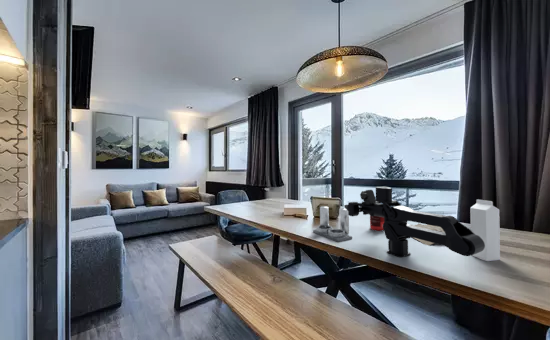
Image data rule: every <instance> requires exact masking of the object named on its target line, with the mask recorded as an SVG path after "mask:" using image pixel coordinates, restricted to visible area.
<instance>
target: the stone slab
mask: <svg viewBox="0 0 550 340" xmlns="http://www.w3.org/2000/svg"><path fill="white" fill-rule="evenodd" d="M411 225H412V226H416V227H421V228H426V229H430V230H435V231H440V232H444V230H443V229H442V228H441V227H437V226H432V225H427V224H422V223H418V224H414V225H413V224H411ZM444 233H445V232H444ZM411 238H412V239H415V240H417V241H419V243H421V244H423V245H425V246H431V245H433V244H435V243H432V242H428V241H425V240H421V239H417V238H413V237H411Z"/></svg>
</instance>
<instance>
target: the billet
mask: <svg viewBox="0 0 550 340" xmlns="http://www.w3.org/2000/svg"><path fill="white" fill-rule="evenodd" d="M338 211H339V229H341V230H344V231H345V234H346V235H349V234H350V218H349V217H350V216H349V215H348V210H347V209H346V208H345V207H343V208H342V207H341V208H339V209H338Z"/></svg>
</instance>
